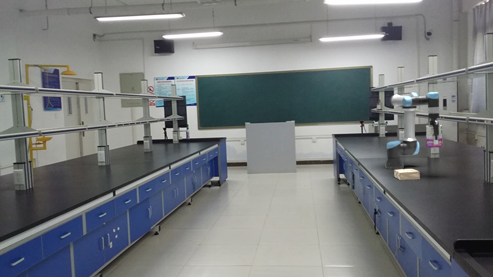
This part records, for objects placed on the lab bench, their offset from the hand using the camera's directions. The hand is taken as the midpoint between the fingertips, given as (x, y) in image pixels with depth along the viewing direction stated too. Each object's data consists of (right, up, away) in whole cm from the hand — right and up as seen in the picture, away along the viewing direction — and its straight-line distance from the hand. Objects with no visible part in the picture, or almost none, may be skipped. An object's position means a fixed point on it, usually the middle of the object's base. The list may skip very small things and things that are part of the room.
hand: (434, 143), depth 311 cm
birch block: (-19, -26, +4) cm, 33 cm away
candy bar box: (0, -3, 0) cm, 3 cm away
